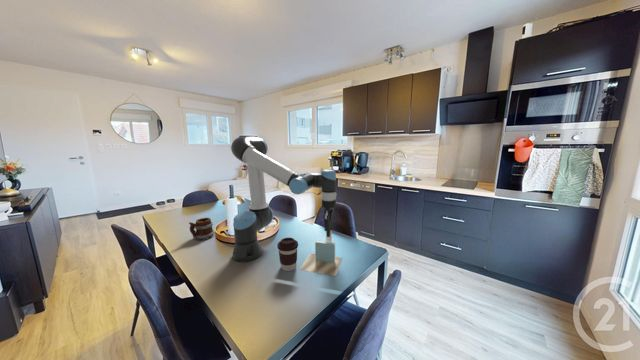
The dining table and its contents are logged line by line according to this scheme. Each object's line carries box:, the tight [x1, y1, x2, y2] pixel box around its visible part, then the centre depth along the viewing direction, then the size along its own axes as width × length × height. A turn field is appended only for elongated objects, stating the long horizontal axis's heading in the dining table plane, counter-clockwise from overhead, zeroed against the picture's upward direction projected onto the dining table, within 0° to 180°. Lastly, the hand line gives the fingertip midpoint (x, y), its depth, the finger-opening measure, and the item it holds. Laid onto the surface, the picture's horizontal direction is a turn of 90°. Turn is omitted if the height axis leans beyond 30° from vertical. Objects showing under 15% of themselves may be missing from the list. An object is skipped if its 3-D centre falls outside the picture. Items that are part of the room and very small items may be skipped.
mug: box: [188, 217, 215, 241], centre depth 143 cm, size 12×14×15 cm
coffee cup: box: [277, 237, 299, 272], centre depth 106 cm, size 10×10×15 cm
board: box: [299, 253, 343, 277], centre depth 110 cm, size 18×16×1 cm
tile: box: [314, 240, 336, 263], centre depth 111 cm, size 10×2×10 cm, turn 73°
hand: (328, 241), depth 118 cm, fingers closed
